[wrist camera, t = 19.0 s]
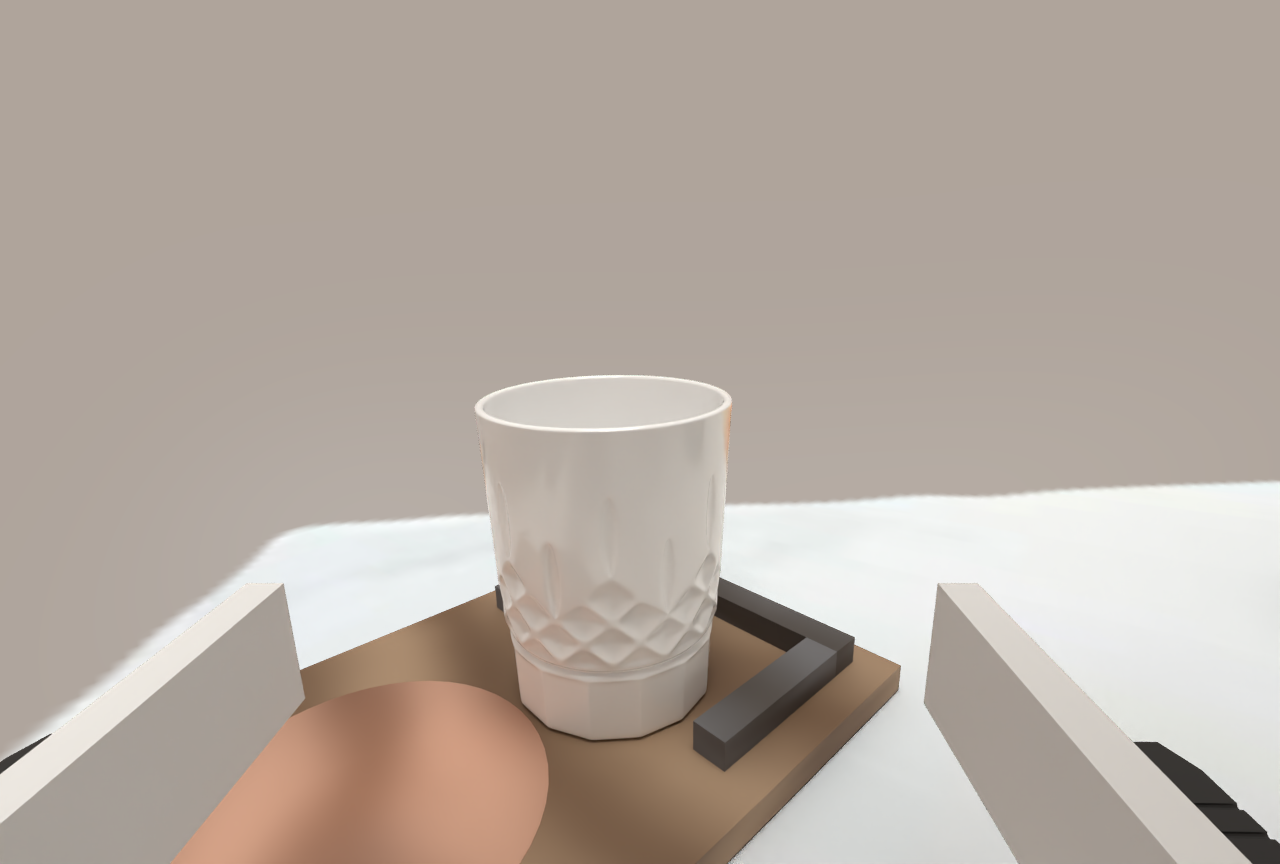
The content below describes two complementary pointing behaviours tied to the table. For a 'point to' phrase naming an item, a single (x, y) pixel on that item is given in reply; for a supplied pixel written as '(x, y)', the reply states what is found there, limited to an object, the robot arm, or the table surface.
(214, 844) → the walnut board
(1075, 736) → the robot arm
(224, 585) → the table surface
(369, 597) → the table surface
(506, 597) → the white cup
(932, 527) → the table surface
